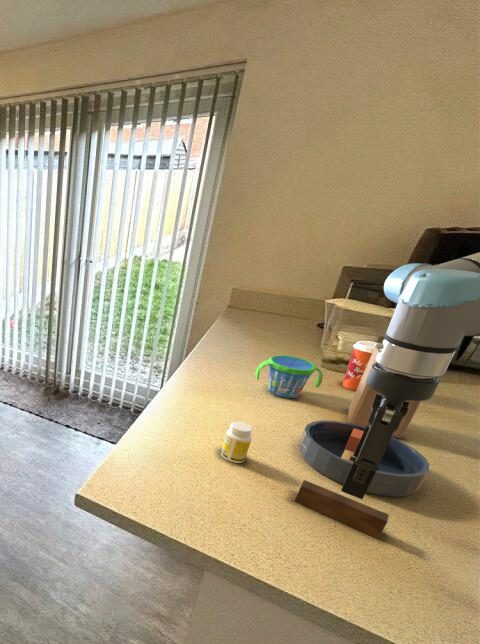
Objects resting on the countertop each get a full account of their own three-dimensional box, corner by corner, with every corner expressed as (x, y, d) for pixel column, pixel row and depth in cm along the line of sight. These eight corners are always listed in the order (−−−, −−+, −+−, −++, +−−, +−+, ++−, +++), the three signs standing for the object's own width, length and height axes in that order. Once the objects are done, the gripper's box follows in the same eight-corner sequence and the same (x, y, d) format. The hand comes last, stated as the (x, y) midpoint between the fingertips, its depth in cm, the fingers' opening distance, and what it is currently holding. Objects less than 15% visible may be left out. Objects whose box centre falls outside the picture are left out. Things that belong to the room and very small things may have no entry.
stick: (379, 530, 71) (388, 514, 69) (378, 538, 69) (387, 521, 68) (297, 495, 79) (303, 479, 77) (294, 501, 77) (300, 485, 76)
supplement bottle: (248, 458, 90) (258, 427, 86) (239, 466, 87) (249, 435, 84) (225, 447, 93) (234, 418, 90) (216, 455, 91) (225, 425, 87)
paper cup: (339, 388, 118) (357, 346, 113) (336, 379, 124) (352, 338, 119) (375, 396, 114) (395, 352, 109) (369, 385, 120) (388, 343, 114)
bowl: (419, 467, 86) (431, 447, 84) (414, 514, 74) (427, 491, 72) (307, 429, 99) (314, 411, 97) (288, 464, 88) (295, 444, 85)
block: (402, 440, 95) (440, 366, 87) (346, 425, 101) (377, 354, 93) (399, 423, 101) (434, 352, 93) (347, 409, 108) (376, 342, 100)
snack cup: (253, 395, 116) (262, 364, 112) (248, 380, 124) (257, 351, 120) (320, 407, 109) (333, 374, 105) (310, 390, 118) (321, 360, 114)
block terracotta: (372, 452, 90) (380, 436, 88) (370, 461, 87) (378, 444, 85) (346, 443, 93) (353, 427, 91) (343, 451, 90) (350, 435, 89)
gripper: (381, 342, 72) (341, 437, 80) (363, 387, 57) (316, 499, 65) (443, 353, 67) (393, 454, 75) (440, 406, 52) (378, 525, 60)
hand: (357, 475), depth 70 cm, fingers open, 13 cm apart
